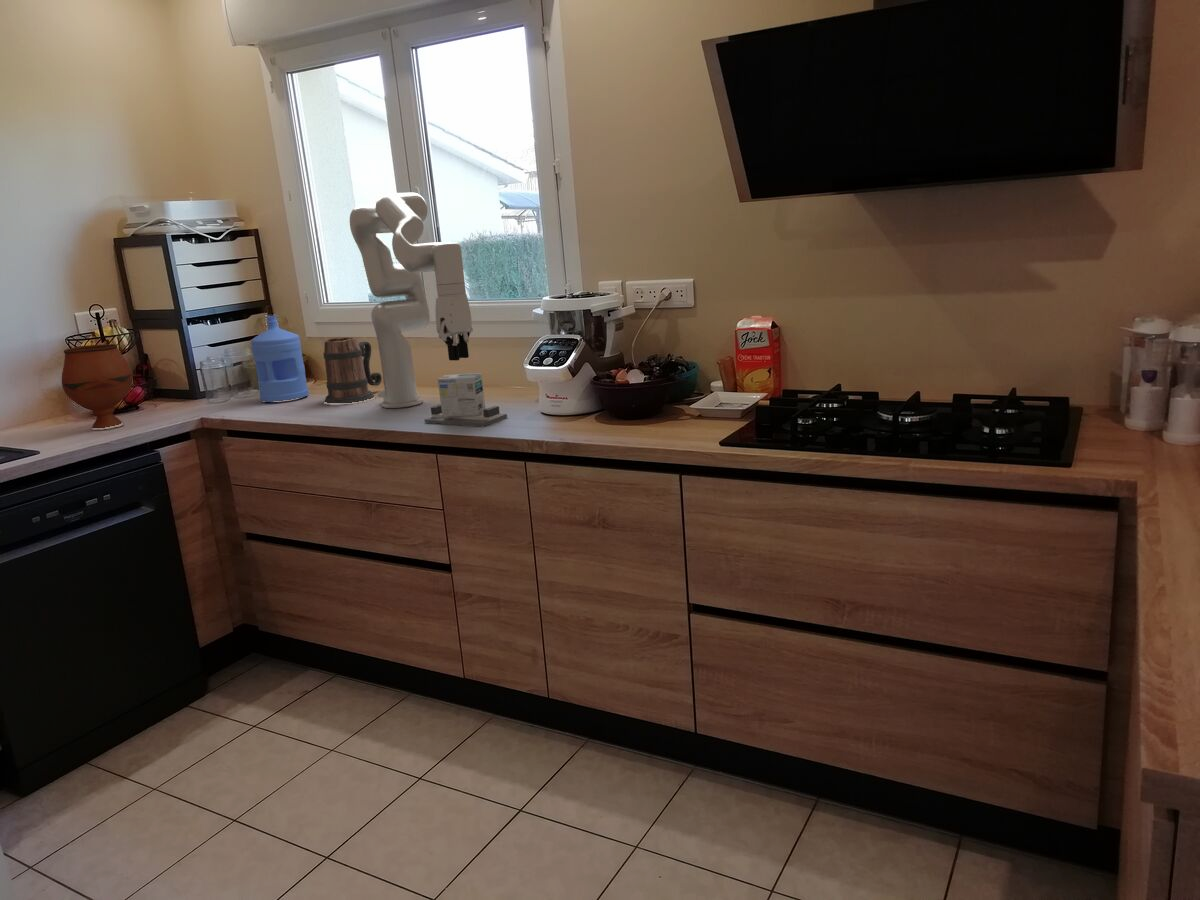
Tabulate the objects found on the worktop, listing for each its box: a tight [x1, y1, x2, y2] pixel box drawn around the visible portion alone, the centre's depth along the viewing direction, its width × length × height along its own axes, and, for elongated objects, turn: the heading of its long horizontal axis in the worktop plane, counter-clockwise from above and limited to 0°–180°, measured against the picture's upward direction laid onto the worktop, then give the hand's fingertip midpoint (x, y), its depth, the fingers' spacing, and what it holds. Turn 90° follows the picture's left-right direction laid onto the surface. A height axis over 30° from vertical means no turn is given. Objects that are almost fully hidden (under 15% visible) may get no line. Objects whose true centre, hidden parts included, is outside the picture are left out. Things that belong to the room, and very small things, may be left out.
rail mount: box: [424, 403, 508, 427], centre depth 238 cm, size 20×11×4 cm, turn 61°
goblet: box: [61, 343, 134, 429], centre depth 263 cm, size 19×19×25 cm
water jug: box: [250, 315, 310, 402], centre depth 290 cm, size 16×16×28 cm
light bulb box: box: [437, 372, 486, 417], centre depth 237 cm, size 11×7×11 cm, turn 80°
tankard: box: [323, 337, 383, 403], centre depth 283 cm, size 24×17×20 cm
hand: (458, 358), depth 235 cm, fingers open, 3 cm apart
